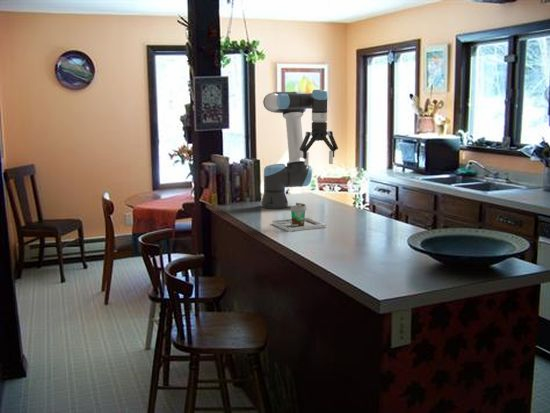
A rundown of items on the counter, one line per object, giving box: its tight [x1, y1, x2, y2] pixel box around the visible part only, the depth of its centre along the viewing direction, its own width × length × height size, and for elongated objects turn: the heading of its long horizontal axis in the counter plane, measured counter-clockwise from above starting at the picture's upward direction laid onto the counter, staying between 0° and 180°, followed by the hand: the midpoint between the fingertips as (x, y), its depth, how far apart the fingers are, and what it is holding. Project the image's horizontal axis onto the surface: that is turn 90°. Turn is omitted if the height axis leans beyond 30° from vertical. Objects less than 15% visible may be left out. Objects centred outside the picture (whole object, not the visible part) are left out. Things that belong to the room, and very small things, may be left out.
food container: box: [290, 202, 307, 227], centre depth 284 cm, size 12×6×10 cm, turn 167°
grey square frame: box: [271, 216, 327, 232], centre depth 285 cm, size 18×20×2 cm
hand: (318, 164), depth 300 cm, fingers open, 13 cm apart
